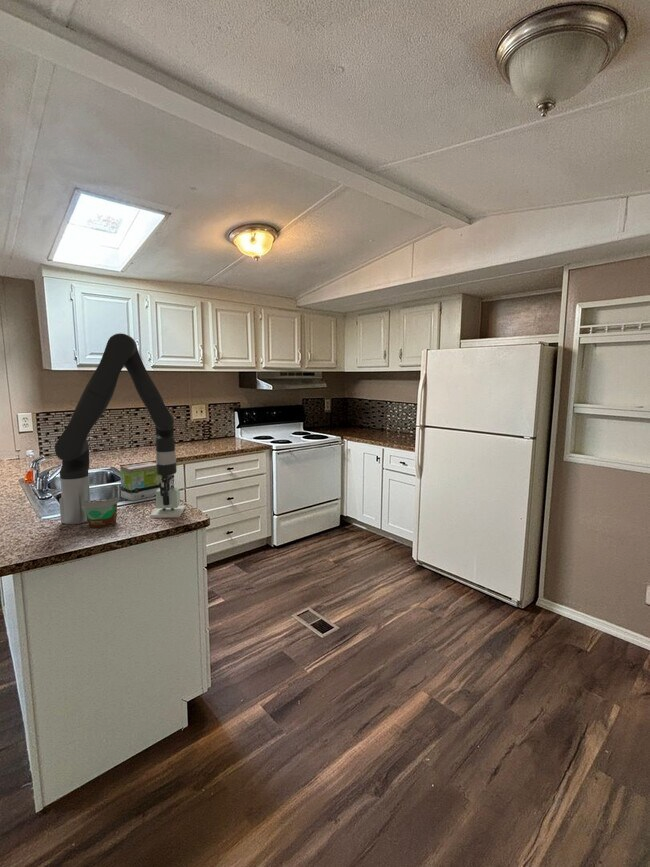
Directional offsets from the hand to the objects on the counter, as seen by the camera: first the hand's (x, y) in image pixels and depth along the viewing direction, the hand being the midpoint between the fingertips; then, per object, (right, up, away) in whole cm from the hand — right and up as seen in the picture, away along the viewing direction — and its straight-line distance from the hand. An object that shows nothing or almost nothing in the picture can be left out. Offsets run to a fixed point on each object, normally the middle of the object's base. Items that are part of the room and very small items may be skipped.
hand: (168, 502), depth 166 cm
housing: (0, -1, 0) cm, 1 cm away
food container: (-19, -6, -15) cm, 25 cm away
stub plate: (0, -4, +1) cm, 4 cm away
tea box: (-21, -1, +24) cm, 32 cm away
